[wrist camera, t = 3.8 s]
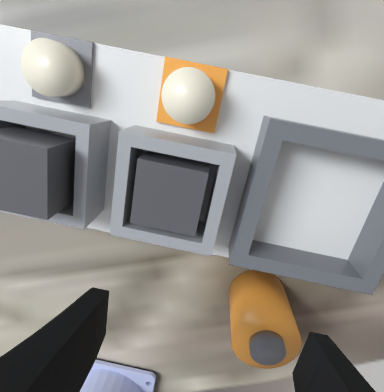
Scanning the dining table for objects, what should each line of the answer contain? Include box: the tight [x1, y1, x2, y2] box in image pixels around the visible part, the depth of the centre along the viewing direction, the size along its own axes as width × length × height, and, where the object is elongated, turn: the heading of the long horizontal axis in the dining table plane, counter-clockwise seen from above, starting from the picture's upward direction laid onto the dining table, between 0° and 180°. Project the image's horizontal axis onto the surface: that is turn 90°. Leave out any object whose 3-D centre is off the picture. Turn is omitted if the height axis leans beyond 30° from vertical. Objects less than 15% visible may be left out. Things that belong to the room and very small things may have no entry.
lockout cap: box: [229, 270, 302, 368], centre depth 18 cm, size 4×4×5 cm
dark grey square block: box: [130, 151, 210, 236], centre depth 14 cm, size 3×3×2 cm
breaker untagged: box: [0, 126, 76, 220], centre depth 13 cm, size 3×3×2 cm
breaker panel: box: [0, 24, 384, 295], centre depth 15 cm, size 10×22×5 cm, turn 79°
